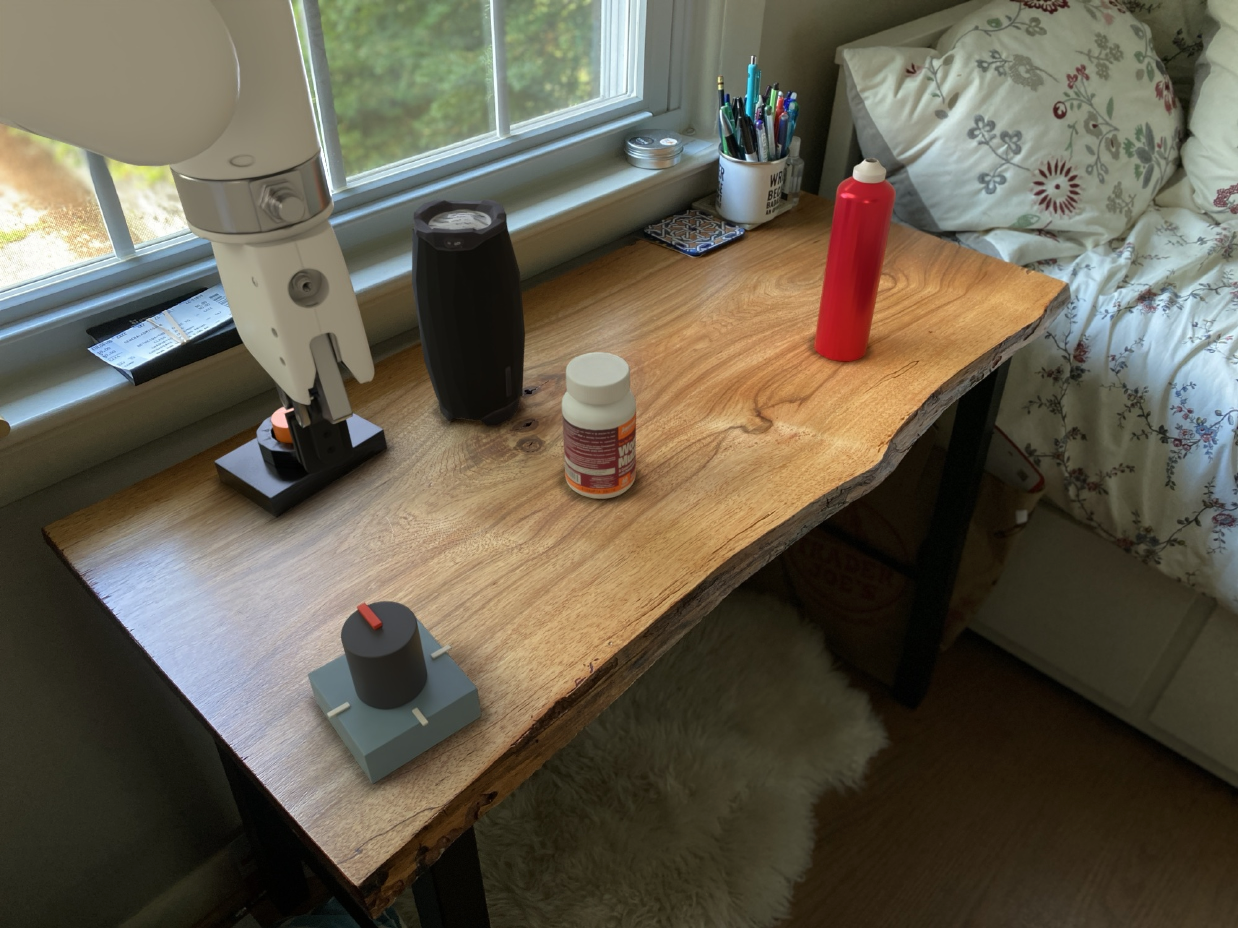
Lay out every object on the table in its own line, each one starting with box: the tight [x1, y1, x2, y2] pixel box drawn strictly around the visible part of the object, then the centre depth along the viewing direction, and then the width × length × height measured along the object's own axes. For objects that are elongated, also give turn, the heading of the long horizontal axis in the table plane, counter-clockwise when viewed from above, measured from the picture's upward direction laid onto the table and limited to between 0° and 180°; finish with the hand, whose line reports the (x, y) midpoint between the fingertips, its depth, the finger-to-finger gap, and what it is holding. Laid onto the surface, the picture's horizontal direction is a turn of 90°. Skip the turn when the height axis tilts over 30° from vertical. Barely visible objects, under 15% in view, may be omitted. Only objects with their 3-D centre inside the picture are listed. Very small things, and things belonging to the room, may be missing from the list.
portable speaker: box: [411, 198, 526, 427], centre depth 84 cm, size 9×9×20 cm
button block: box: [213, 412, 388, 519], centre depth 82 cm, size 12×8×4 cm, turn 142°
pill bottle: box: [561, 351, 637, 500], centre depth 78 cm, size 6×6×11 cm
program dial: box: [340, 600, 427, 709], centre depth 59 cm, size 5×5×5 cm
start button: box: [270, 406, 294, 443], centre depth 80 cm, size 4×4×2 cm
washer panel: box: [307, 615, 482, 784], centre depth 61 cm, size 9×9×3 cm
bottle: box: [813, 157, 897, 362], centre depth 92 cm, size 6×6×20 cm
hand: (326, 459), depth 61 cm, fingers closed
